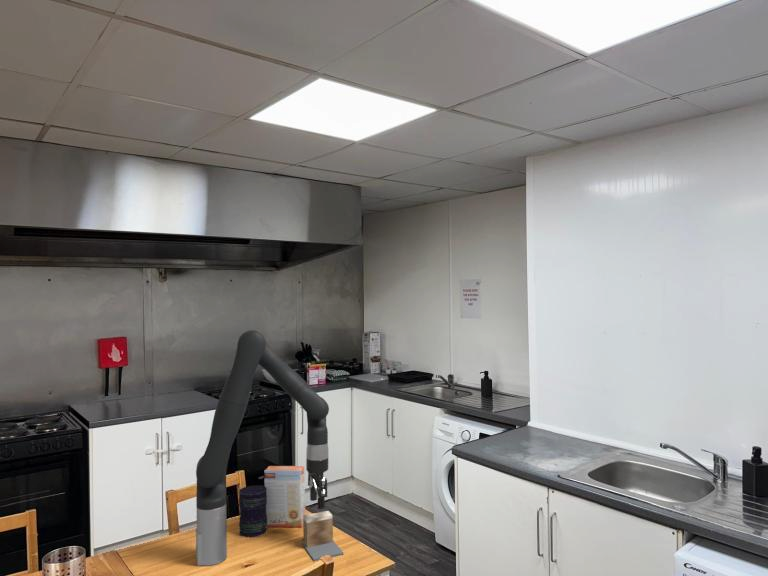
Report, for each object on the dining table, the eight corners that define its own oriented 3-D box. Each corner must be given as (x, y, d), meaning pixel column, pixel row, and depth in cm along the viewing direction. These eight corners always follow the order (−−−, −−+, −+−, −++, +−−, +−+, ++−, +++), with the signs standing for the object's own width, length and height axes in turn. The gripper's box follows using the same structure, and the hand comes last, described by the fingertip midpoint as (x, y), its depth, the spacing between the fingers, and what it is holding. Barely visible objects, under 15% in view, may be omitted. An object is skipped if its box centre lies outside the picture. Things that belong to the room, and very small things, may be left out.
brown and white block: (307, 547, 173) (306, 520, 173) (303, 542, 177) (303, 515, 177) (332, 542, 177) (332, 515, 177) (328, 536, 181) (328, 510, 181)
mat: (313, 561, 165) (313, 559, 165) (301, 543, 177) (301, 541, 177) (343, 554, 169) (343, 552, 169) (329, 537, 182) (329, 535, 182)
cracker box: (305, 521, 196) (305, 465, 197) (301, 528, 190) (300, 470, 191) (269, 520, 197) (269, 464, 198) (264, 527, 191) (263, 469, 192)
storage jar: (239, 527, 191) (238, 486, 192) (266, 524, 194) (266, 483, 194) (239, 539, 182) (238, 496, 182) (267, 535, 184) (267, 492, 185)
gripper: (301, 452, 183) (300, 499, 182) (312, 463, 170) (312, 513, 169) (321, 450, 186) (321, 496, 185) (334, 460, 173) (334, 509, 172)
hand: (317, 504), depth 177 cm, fingers open, 8 cm apart
